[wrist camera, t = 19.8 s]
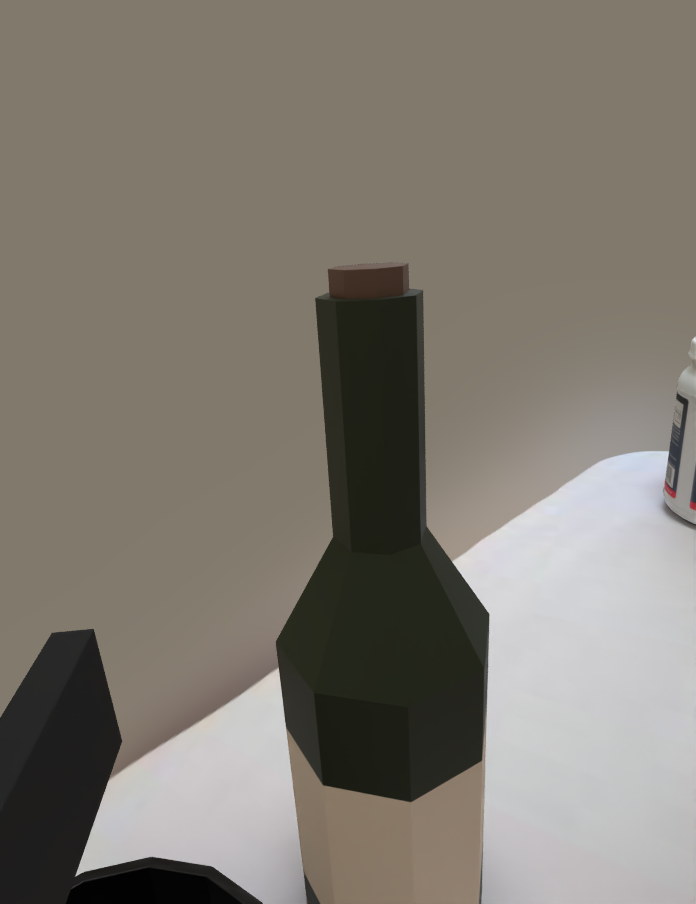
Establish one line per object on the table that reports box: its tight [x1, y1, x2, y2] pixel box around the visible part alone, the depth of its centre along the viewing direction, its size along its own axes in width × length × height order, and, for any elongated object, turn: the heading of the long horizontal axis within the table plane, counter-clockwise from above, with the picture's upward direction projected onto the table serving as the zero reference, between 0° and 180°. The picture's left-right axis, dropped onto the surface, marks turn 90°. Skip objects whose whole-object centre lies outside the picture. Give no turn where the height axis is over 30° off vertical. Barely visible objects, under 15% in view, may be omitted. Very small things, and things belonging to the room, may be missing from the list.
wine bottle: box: [276, 263, 489, 904], centre depth 24 cm, size 8×8×30 cm
